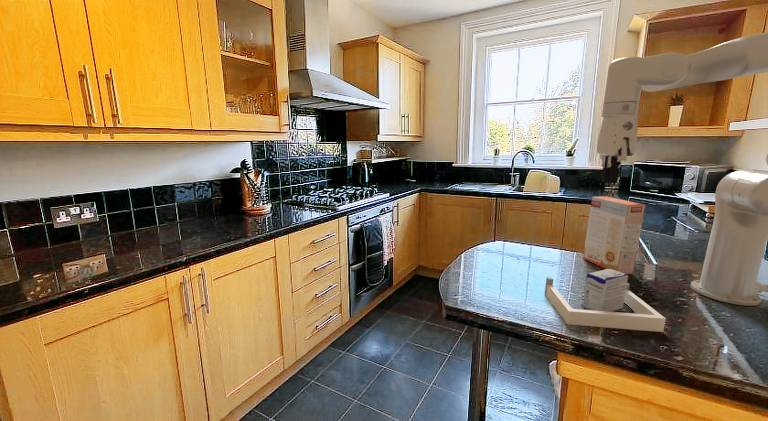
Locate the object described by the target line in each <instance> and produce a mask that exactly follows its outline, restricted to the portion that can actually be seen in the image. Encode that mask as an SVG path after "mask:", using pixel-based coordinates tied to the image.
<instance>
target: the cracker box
mask: <svg viewBox="0 0 768 421" xmlns="http://www.w3.org/2000/svg"><path fill="white" fill-rule="evenodd" d="M646 206H647V205H646V204H643V203H638V202H635V201H634V202H633V201H630V200H625V199H620V198H616V197H612V196H611V197H610V196H606V195H605V196H592V197H591V201H590V208H589V214H588V220H587V221H588V222H587V227H586V228H587V229H586V235H585V242H584V249H583V255H582V259H583V260H585V261H587V260H588V261H587V262H589V261H590V263H591V262H592V264H593V263H594V265H595V264H596V265H595V266H597V265H598V267H599V266H600V267H599V268H601V267H602V269H603V268H604V269H603V270H605V269H612V270H615V271H618V272H621V273H624V274H627V275H634V270H635V266H636V260H637V254H638V251H639V250H638V248H639V244H640V237H641V234H642V233H641V232H642V227H643V223H644V215H645V211H646Z"/></svg>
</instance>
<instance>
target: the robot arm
mask: <svg viewBox="0 0 768 421" xmlns="http://www.w3.org/2000/svg"><path fill="white" fill-rule="evenodd" d="M607 70H608V71H607V76H606V84H605V90H604V91H605V92H604V98H603V105H602V110H601V111H602V112H601V118H602V121H601V126H600V129H599V134H598V138H597V139H598V140H597V146H596V152H597V154H599V155H600V157H599V159H601V160H602V164H601V166H602V172H601V177H600V178H601V179H600V182H601V183H604V184H617V183H618V178H619V172H620V171H619V170H620V168H621V166H622V163H623V162H626V161H627V157H632V156H633V155H634V154H635V152H636V147H637V138H638V124H639V121H638V114H639V108H640V107H639V106H640V100H641V95H642V91H643V92H646V93H648V92H650V93H652V92H660V91H664V90H665V91H666V90H671V89H676V88H682V87H689V86H693V85H694V86H695V85H698V84H704V83H705V84H706V83H711V82H718V81H719V82H720V81H726V80H727V81H728V80H730V79H731V80H732V79H738V78H742V77H749V76H753V75H759V74H764V73H768V31H765V32H760V33H755V34H750V35H746V36H741V37H738V38H734V39H731V40H729V41H726V42H723V43H721V44H718V45H715V46H713V47H710V48H707V49H704V50H701V51H697V52H693V53H690V54H686V55H685V54H683V53H679V52H666V53H661V54H656V55H648V56H641V57H640V56H625V57H621V58H618V59H614V60H613V61H611V62H610V63H609V66H608V69H607ZM765 162H766V164H767V166H768V153H767V154H766V158H765ZM714 194H715V195H714V200H715V201H714V202H715V204H714V206H715V207H714V216H713V223H712V227H711V231H710V235H709V239H708V243H707V247H706V252H705V257H704V260H703V261H704V262H703V266H702V270H701V273H700V274H701V275H700V279H696V280H695V279H694V280H692V281H691V283H690V289H691V290H693V291H694V292H696V293H698V294H700V295H702V296H704V297H706V298H710V299H713V300H715V301H719V302H724V303H727V304H733V305H737V306H750V307H751V306H758V305H761V303H762V297H761V296H760V295H759V294H760V293H762V292H764V293H768V283H767V284H766V283H764V284H762V283H761V282H760V281H758V280H757V279H758V276H759V273H760V270H761V269H760V268H761V265H762V260H763V258H764V254H765V249H766V246H767V243H768V170H763V169H755V168H750V169H749V168H747V169H738V170H735V171H733V172H730V173H728V174H727V175H725V176H724V177H723V178H722V179H720V180H719V182H718V184H717V186H716V189H715V193H714Z"/></svg>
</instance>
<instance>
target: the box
mask: <svg viewBox="0 0 768 421" xmlns="http://www.w3.org/2000/svg"><path fill="white" fill-rule="evenodd" d="M628 278H629V274H624V273H621V272H618V271H615V270H612V269H602V270H598V271H594V272H593V271H592V272H588V273H586V279H585V281H586V282H585V286H584V296H583V302H582V307H583V308H585V309H586V310H594V311H607V312H616V311H618V310H621V309H623V308H624V298H625V291H626V285H627V283H628V280H629V279H628Z"/></svg>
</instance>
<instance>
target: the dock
mask: <svg viewBox="0 0 768 421" xmlns="http://www.w3.org/2000/svg"><path fill="white" fill-rule="evenodd" d="M630 286H631V285H630V283H629V282H627V285H626V291H625V298H624V303H625V304H627V305H628V306H629V307H630V308H631V309H632V310H633V311H634V312H633V311H632V310H631V309H630V308H629V307H628V306H627V307H628V308H629V309H630V310H631V311H632V312H633V313H630V312H619V311H612V312H607V311H594V310H589V309H579V308H572V306H571V304H569V302H568V301H567V300H566V299H565V298H564V296H563V295H562V294H561V293H560V292H559V290H558V289H557V288H556V287H555V286H554V278H553V277H549V276H547V277H546V280H545V288H544V294H545V296H546V297H547V299H548V300H549V301H550V303H551V304H552V305H553V307H554V309H556V311H557V313H558V314H559V315H560V317H561V318H562V319H563V321H564V322H565V324H566V325H572V326H573V325H574V326H584V327H585V326H586V327H597V328H608V329H621V330H632V331H644V332H647V331H648V332H658V333H663V332H664V329H665V324H666V321H667V318H666V317H665V316H663V315H662V314H660V313H659V312H658V311H657V310H655V309H654V308H653V307H651V306H650V305H649V304H648V303H646V302H645V301H644V300H643V299H642V298H640V297H638V296H637V295H636V294H635V293H633V291H631V290H630ZM624 303H623V304H624ZM625 304H624V305H625Z"/></svg>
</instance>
